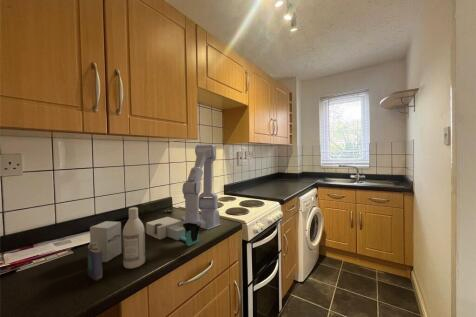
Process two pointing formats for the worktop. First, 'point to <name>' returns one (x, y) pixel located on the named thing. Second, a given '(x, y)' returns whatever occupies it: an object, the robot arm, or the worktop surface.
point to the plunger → (156, 227)
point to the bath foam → (133, 241)
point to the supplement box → (107, 238)
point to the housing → (161, 229)
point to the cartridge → (180, 234)
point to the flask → (94, 262)
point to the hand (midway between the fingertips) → (192, 239)
